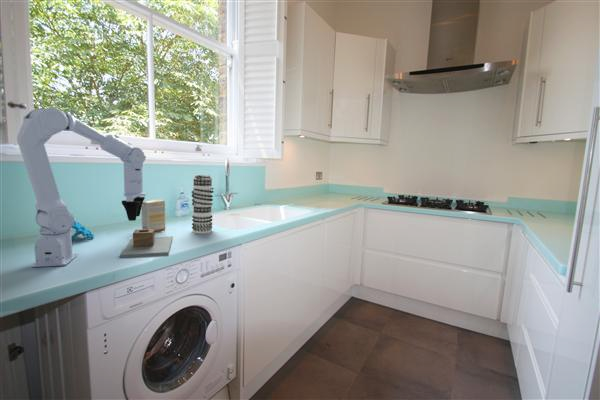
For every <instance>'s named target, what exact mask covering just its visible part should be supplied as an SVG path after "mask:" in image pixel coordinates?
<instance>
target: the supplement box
mask: <svg viewBox="0 0 600 400" xmlns="http://www.w3.org/2000/svg"><path fill="white" fill-rule="evenodd" d="M140 213H141V229H154V232H158V231H159V232H160V231H163V230H166V200H163V199H151V200H144V201H143V203H142V207H141V212H140Z"/></svg>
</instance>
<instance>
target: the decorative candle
mask: <svg viewBox="0 0 600 400" xmlns="http://www.w3.org/2000/svg"><path fill="white" fill-rule="evenodd" d="M192 179H193V185H192V190H191V197H192V198H191V201H192V203H191V205H192V206H193V211H192V216H191V217H192V219H191V222H192V223H191V226H192V227H191V229H192V233H194V234H209V233H212V232H213V226H212V225H213V222H212V221H213V219H212V218H213V215H212V214H213V213H212V207H213V205H214V204H213V203H212V202H213V201H214V199H213V198H214V195H212V194H213V193H214V187H213V185H212V183H213V182H212V181H213V178H212V177H211V176H210V175H209V174H196V175H194V176H193V178H192Z"/></svg>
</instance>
